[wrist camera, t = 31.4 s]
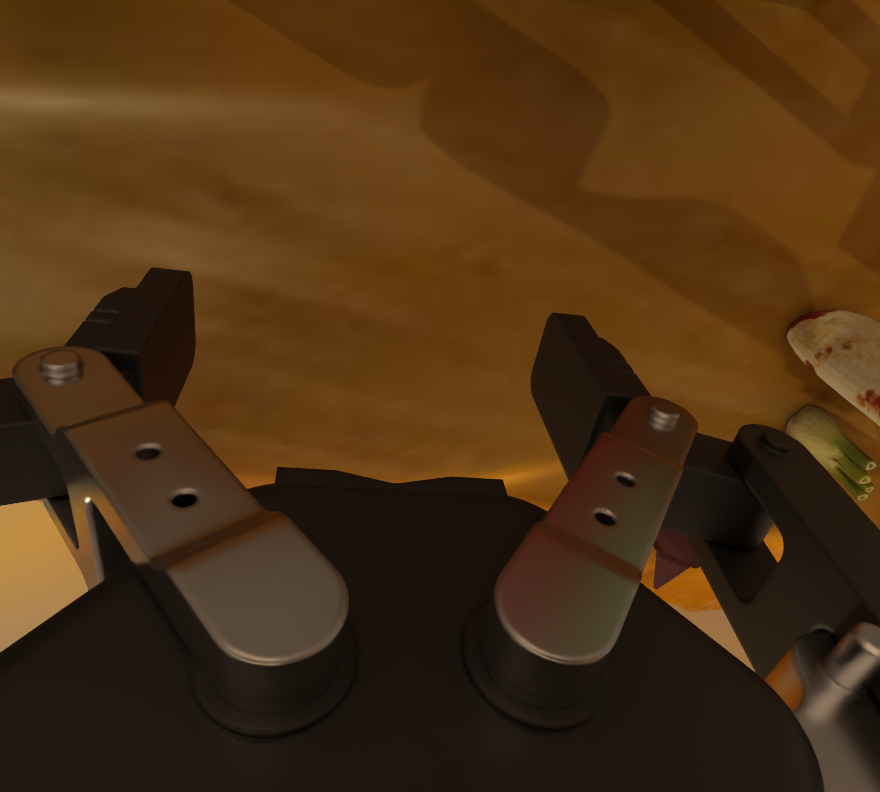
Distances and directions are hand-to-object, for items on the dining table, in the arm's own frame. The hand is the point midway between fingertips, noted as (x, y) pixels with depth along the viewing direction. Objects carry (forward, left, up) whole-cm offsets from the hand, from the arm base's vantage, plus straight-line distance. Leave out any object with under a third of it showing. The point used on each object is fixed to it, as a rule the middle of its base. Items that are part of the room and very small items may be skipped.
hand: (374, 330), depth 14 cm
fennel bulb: (+56, -28, -42) cm, 76 cm away
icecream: (+46, -47, -42) cm, 78 cm away
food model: (+51, -16, -42) cm, 68 cm away
